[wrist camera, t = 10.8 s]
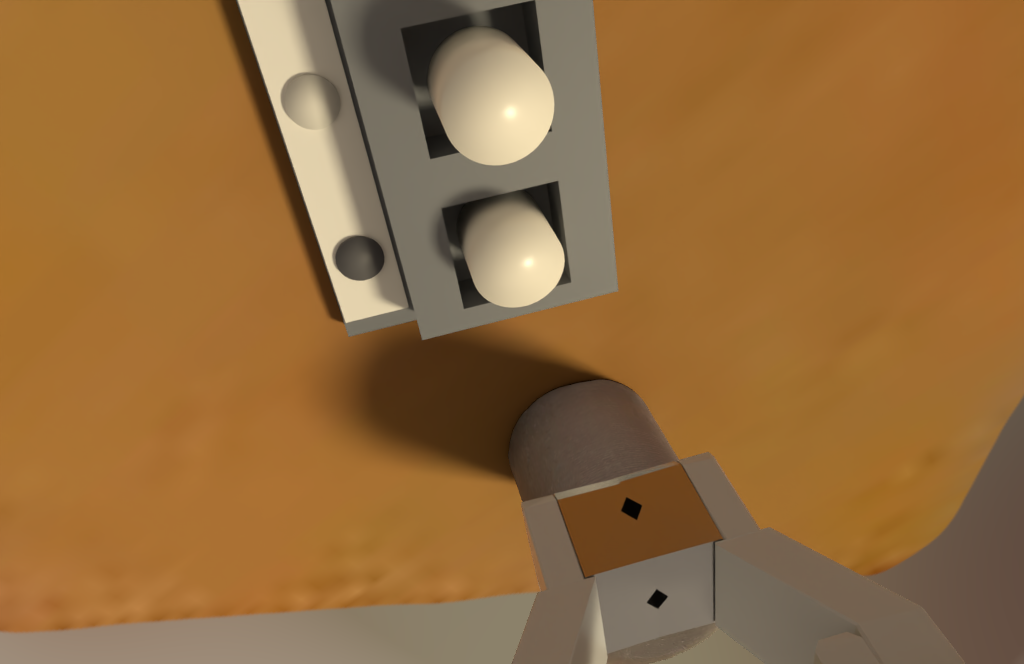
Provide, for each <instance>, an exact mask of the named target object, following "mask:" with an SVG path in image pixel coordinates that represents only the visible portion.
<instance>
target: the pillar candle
mask: <svg viewBox="0 0 1024 664" xmlns="http://www.w3.org/2000/svg"><path fill="white" fill-rule="evenodd" d="M508 458H509V463H510V467H511V470H512V473H513V476H514V478H515V481H516V484H517V486H518V490H519V493H520V496H521V499H522V501H523V502H524V501H528V500H532V499H536V498H540V497H544V496H548V495H552V494H553V496H554V493H558V492H563V491H567V490H571V489H575V488H579V487H583V486H587V485H591V484H595V483H599V482H604V481H608V480H612V479H615V478H616V477H620V476H623V475H627V474H630V473H634V472H638V471H641V470H645V469H648V468H652V467H655V466H659V465H662V464H666V463H669V462H673V461H675V462H677V460H679V459H678V457H677V456H676V454H675V452H674V451H673V449H672V448H671V446H670V444H669V443H668V441H667V439H666V438H665V436H664V434H663V432H662V431H661V429H660V427H659V426H658V424H657V423H656V421H655V419H654V418H653V416H652V414H651V413H650V411H649V409H648V407H647V406H646V404H645V403H644V401H643V400H642V399H641V398H640V397H639V396H638V395H637V394H636V393H635V392H634V391H633V390H631V389H630V388H628V387H627V386H625V385H623V384H620V383H617V382H614V381H611V380H593V381H588V382H581V383H576V384H572V385H568V386H564V387H560V388H557V389H555V390H552V391H550V392H549V393H547V394H545V395H543V396H542V397H541V398H539V399H537V400H536V401H535V402H534V403H533V404H532V405H531V406H530V407H529V408H528V409H527V410H526V411H525V412H524V413H523V414H522V415H521V417H520V418H519V420H518V422H517V424H516V426H515V428H514V430H513V432H512V437H511V440H510V446H509V452H508ZM718 629H719V628H718V627H717V626H715V623H711V624H708V625H704V626H700V627H696V628H692V629H688V630H685V631H681V632H677V633H673V634H669V635H665V636H662V637H658V638H655V639H652V640H649V641H646V642H642V643H639V644H636V645H633V646H630V647H627V648H624V649H621V650H618V651H614V652H611V653H608V654H607V657H608V658H607V663H606V664H649V663H654V662H657V661H661V660H666V659H668V658H672V657H673V656H676V655H677V654H679V653H683V652H684V651H687V650H689V649H691V648H693V647H695V646H696V645H698V644H700V643H701V642H702V641H704V640H705V639H707V638H709V637H710V636H711V635H712V634H713V633H714V632H715V631H717V630H718Z"/></svg>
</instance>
